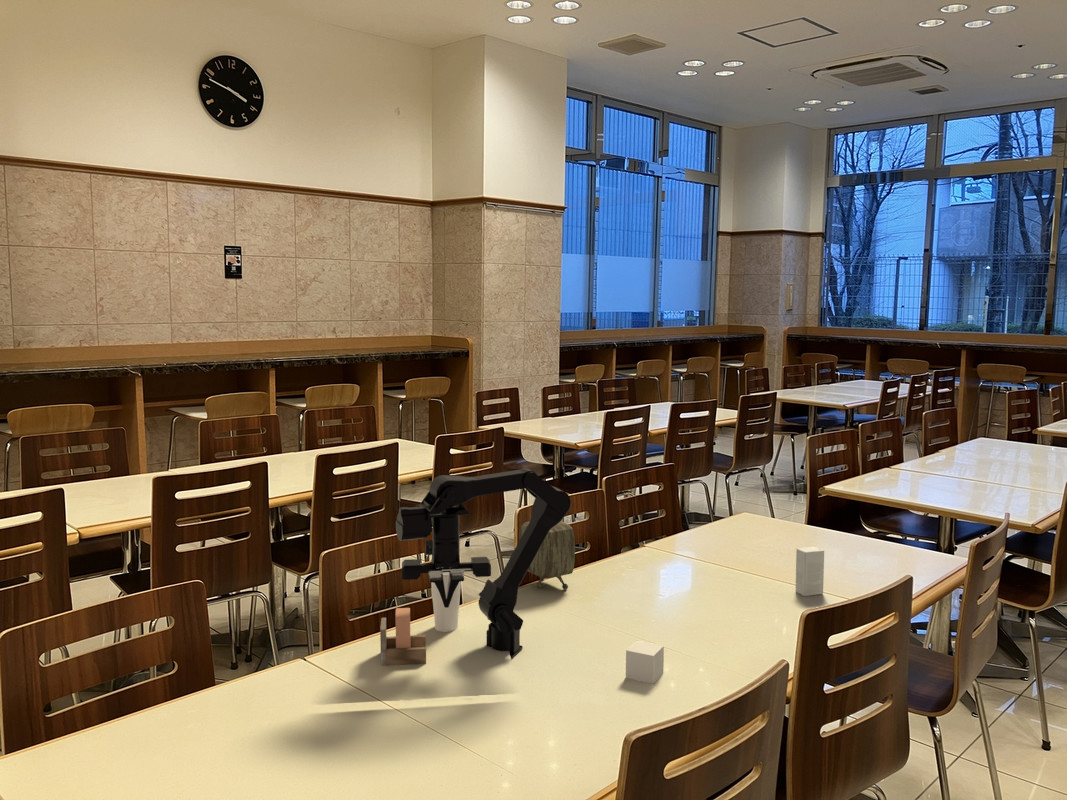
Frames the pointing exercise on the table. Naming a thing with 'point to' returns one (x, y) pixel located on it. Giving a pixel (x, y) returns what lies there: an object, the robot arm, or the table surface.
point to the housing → (401, 649)
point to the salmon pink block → (403, 628)
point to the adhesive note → (644, 661)
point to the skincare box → (809, 571)
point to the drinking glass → (446, 616)
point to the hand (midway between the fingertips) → (446, 606)
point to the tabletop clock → (554, 553)
